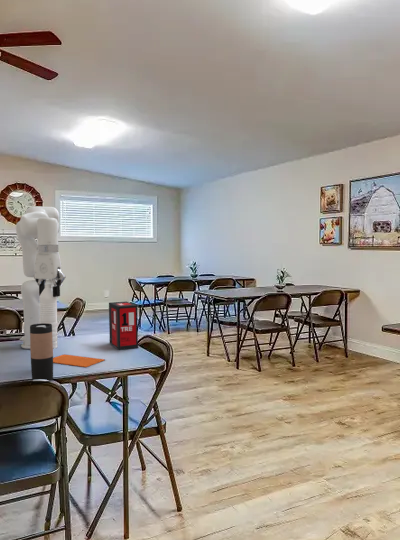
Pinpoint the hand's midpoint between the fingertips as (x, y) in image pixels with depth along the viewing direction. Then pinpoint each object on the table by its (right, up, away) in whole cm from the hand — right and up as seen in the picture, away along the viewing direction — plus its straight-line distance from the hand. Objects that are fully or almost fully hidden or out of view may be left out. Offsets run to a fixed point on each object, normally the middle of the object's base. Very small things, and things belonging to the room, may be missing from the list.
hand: (49, 295), depth 181 cm
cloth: (+6, -28, +14) cm, 32 cm away
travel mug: (+2, -30, -13) cm, 33 cm away
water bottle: (0, -21, +1) cm, 21 cm away
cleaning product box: (+22, -26, +42) cm, 54 cm away
